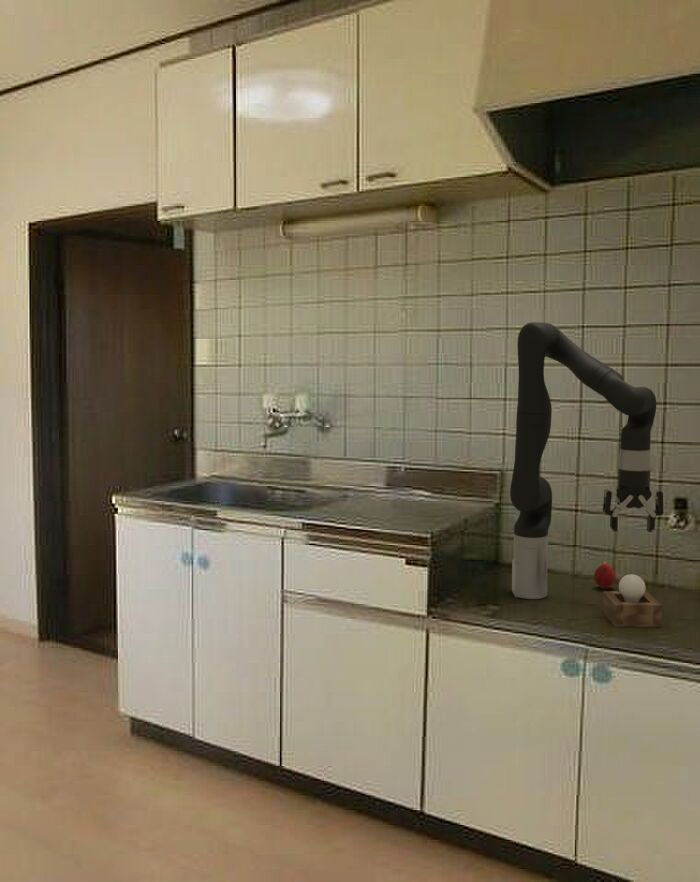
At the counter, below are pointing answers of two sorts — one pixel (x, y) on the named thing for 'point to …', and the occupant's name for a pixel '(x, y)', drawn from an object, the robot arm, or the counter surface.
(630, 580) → the lightbulb
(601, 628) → the counter surface
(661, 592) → the counter surface
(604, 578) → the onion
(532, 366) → the robot arm
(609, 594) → the socket block
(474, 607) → the counter surface
